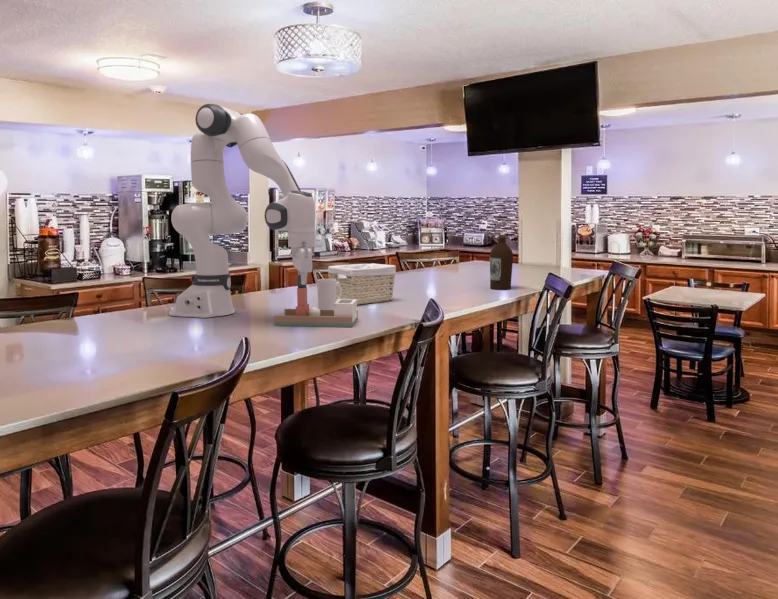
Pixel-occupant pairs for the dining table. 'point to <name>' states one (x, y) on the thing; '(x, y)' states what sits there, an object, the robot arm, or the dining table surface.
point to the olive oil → (501, 265)
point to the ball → (314, 311)
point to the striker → (301, 299)
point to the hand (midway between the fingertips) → (302, 283)
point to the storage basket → (364, 281)
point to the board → (323, 316)
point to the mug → (327, 293)
